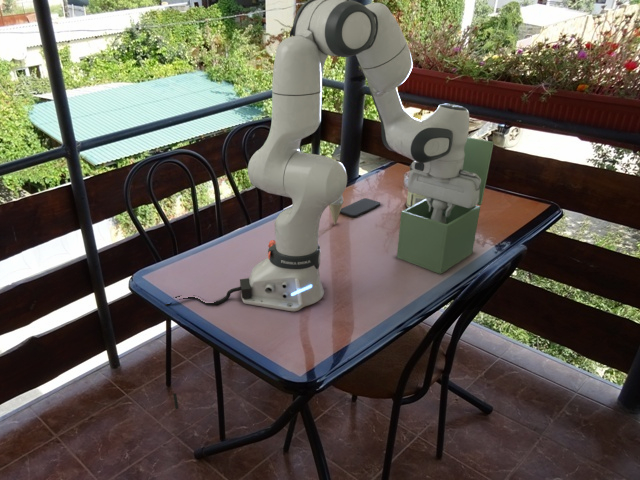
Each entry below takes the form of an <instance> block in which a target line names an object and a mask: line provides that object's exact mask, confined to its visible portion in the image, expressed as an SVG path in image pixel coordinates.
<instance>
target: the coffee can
mask: <svg viewBox="0 0 640 480" xmlns="http://www.w3.org/2000/svg"><path fill="white" fill-rule="evenodd" d="M411 170H413V169H412V163H411V164H410V165H409V173H410V172H411ZM406 196H407V197H406V208H409V207H411V206H413V205H415V204H417V203H419V202H420V201H422V200H424V199H426V198H427V197H426V196H423V195H419V194H416V193H412V192H410V191H409V190H408V189H407V195H406Z"/></svg>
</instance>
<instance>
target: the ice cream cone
mask: <svg viewBox="0 0 640 480" xmlns="http://www.w3.org/2000/svg"><path fill="white" fill-rule="evenodd" d="M343 204H344V195H343V194H342V195H341V197H340V198H339V199H338V200H336V201H335V202H333V203H331V204H330V205H329V206H328V207H329V210H330V213H331V218H332V221H333V225H337V222H338V220H339V216H340V214H341V213H340V210H341V209H342V208H343Z"/></svg>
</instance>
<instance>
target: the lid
mask: <svg viewBox="0 0 640 480" xmlns="http://www.w3.org/2000/svg"><path fill="white" fill-rule="evenodd" d="M494 145H495V144H494V141H491V140H485V139H480V138H475V137H469V136H468V138H467V142H466V144H465V147H464V152H465V158H464V164H463V170H464V171H468V172H471V173H476V174H477V176H479V177H480V179H481V185H480V192H479V202H478V204H477V205H476V206H482V204H483V199H484V195H485V190H486V184H487V179H488V174H489V168H490V163H491V159H492V153H493V148H494ZM476 178H477V177H476Z"/></svg>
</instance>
